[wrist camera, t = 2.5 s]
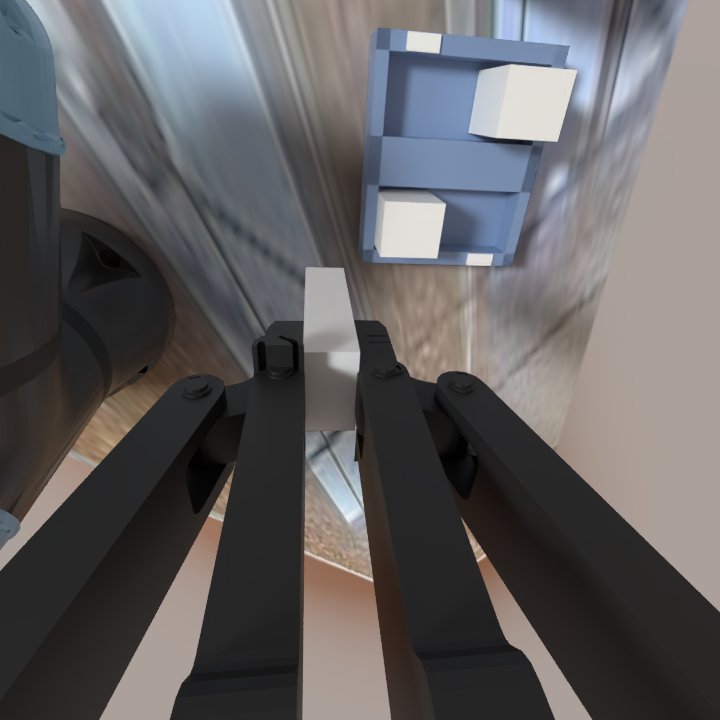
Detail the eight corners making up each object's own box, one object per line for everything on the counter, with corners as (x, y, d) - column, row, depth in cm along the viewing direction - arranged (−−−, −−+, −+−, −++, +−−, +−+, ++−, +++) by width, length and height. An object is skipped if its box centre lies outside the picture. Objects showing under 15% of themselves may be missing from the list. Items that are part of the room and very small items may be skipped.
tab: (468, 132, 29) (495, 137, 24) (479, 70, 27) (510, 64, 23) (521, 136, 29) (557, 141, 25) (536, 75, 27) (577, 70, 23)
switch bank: (358, 249, 34) (362, 263, 31) (370, 35, 26) (378, 27, 23) (495, 253, 35) (512, 266, 32) (544, 51, 28) (571, 45, 25)
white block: (370, 236, 32) (380, 256, 28) (374, 187, 30) (385, 201, 26) (420, 238, 32) (437, 258, 28) (427, 190, 30) (446, 204, 26)
